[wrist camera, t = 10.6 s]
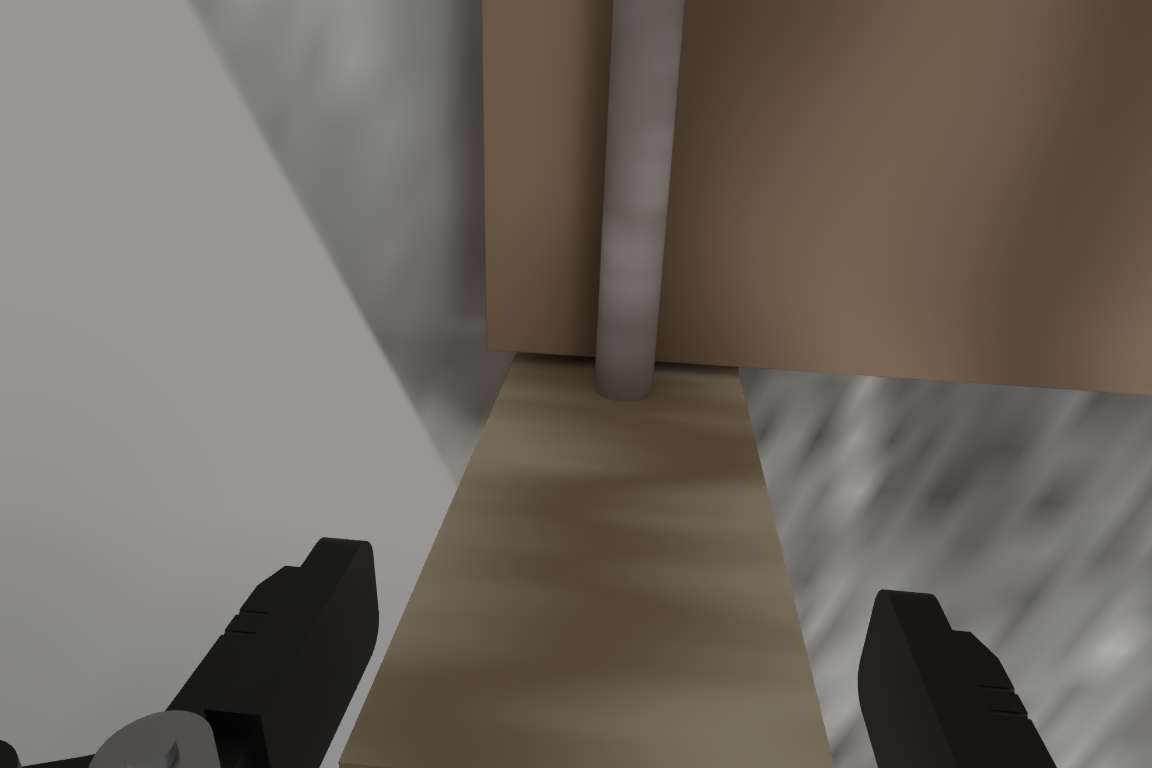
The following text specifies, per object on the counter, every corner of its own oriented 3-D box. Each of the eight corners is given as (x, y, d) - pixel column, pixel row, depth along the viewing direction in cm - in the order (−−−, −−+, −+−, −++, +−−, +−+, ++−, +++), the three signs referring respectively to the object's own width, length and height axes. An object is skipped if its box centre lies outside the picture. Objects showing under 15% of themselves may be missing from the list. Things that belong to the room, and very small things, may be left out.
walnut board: (2012, -304, 12) (2263, -366, 10) (1575, 389, 17) (1689, 433, 15) (500, -315, 14) (475, -370, 12) (502, 319, 19) (485, 351, 17)
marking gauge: (796, -139, 14) (1248, -682, 3) (719, 460, 20) (797, 998, 9) (526, -145, 15) (151, -657, 4) (522, 445, 20) (362, 943, 9)
